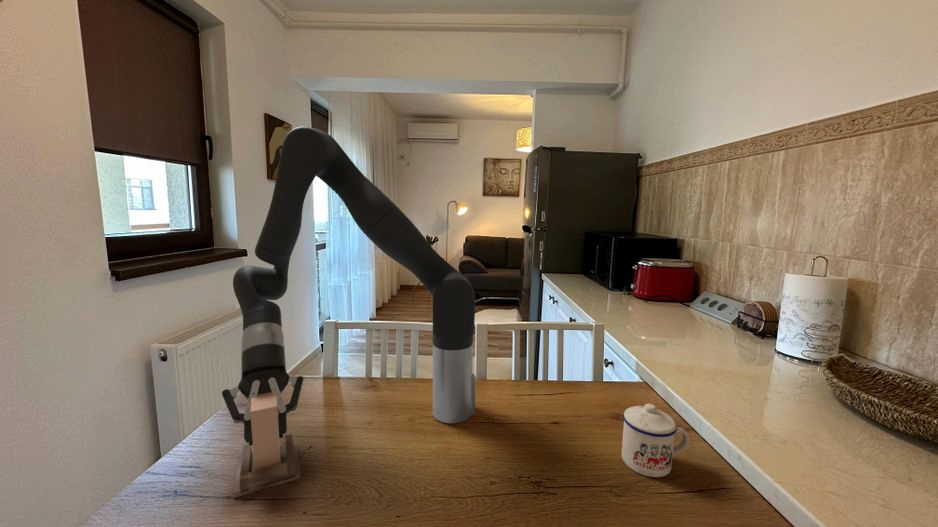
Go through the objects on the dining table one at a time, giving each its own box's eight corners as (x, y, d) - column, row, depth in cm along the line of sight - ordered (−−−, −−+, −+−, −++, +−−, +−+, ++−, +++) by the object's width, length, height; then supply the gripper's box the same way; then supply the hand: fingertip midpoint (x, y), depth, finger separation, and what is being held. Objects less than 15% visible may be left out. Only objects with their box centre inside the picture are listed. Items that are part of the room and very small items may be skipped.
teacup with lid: (630, 478, 66) (635, 418, 64) (613, 446, 75) (617, 392, 73) (698, 481, 65) (705, 420, 64) (673, 448, 74) (678, 395, 73)
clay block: (280, 444, 70) (276, 390, 69) (280, 463, 65) (277, 406, 63) (256, 450, 68) (252, 395, 67) (254, 470, 63) (250, 411, 62)
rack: (297, 446, 74) (296, 432, 73) (301, 477, 65) (300, 462, 65) (239, 461, 69) (238, 446, 69) (234, 497, 60) (233, 481, 60)
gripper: (217, 348, 67) (214, 447, 58) (302, 336, 74) (311, 423, 65) (223, 365, 73) (221, 457, 64) (302, 352, 79) (309, 435, 70)
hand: (266, 439), depth 64 cm, fingers closed on clay block, 4 cm apart
